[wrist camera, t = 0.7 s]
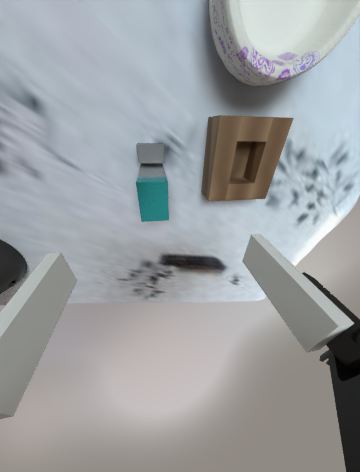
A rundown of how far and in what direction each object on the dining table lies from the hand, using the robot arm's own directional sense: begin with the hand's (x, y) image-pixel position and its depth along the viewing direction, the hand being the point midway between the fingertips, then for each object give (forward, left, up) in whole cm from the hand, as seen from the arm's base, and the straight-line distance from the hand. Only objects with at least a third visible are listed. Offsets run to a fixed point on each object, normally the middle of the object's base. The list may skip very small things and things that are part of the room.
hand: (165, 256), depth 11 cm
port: (+14, +3, -21) cm, 26 cm away
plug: (-1, 0, -21) cm, 22 cm away
